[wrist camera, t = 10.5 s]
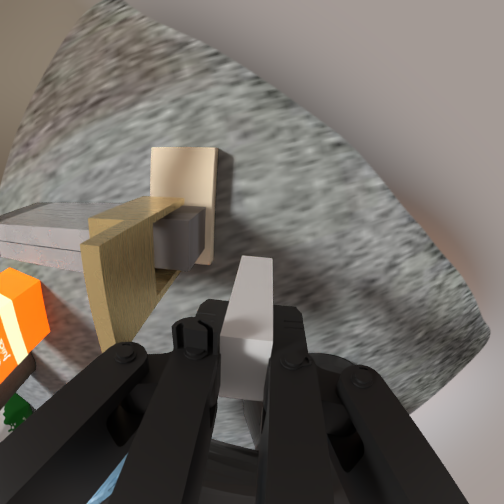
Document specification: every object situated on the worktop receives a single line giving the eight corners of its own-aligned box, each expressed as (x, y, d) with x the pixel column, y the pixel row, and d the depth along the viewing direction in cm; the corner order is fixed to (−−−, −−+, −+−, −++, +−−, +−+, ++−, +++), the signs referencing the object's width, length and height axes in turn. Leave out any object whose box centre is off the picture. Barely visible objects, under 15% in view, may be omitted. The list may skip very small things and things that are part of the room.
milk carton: (37, 419, 45) (6, 467, 26) (13, 400, 44) (-19, 445, 25) (31, 403, 42) (-5, 456, 23) (7, 383, 41) (-31, 430, 22)
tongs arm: (152, 204, 24) (98, 231, 15) (152, 220, 24) (100, 253, 16) (37, 202, 24) (-19, 222, 16) (38, 215, 25) (-16, 238, 16)
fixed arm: (154, 220, 25) (100, 254, 16) (154, 235, 25) (103, 275, 16) (40, 215, 25) (-16, 238, 16) (41, 227, 26) (-14, 253, 17)
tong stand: (218, 148, 22) (199, 145, 16) (213, 259, 26) (196, 291, 19) (158, 147, 22) (122, 147, 16) (158, 253, 26) (128, 282, 20)
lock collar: (184, 197, 20) (98, 246, 9) (184, 266, 22) (119, 359, 11) (143, 196, 20) (40, 239, 9) (145, 262, 22) (65, 342, 11)
